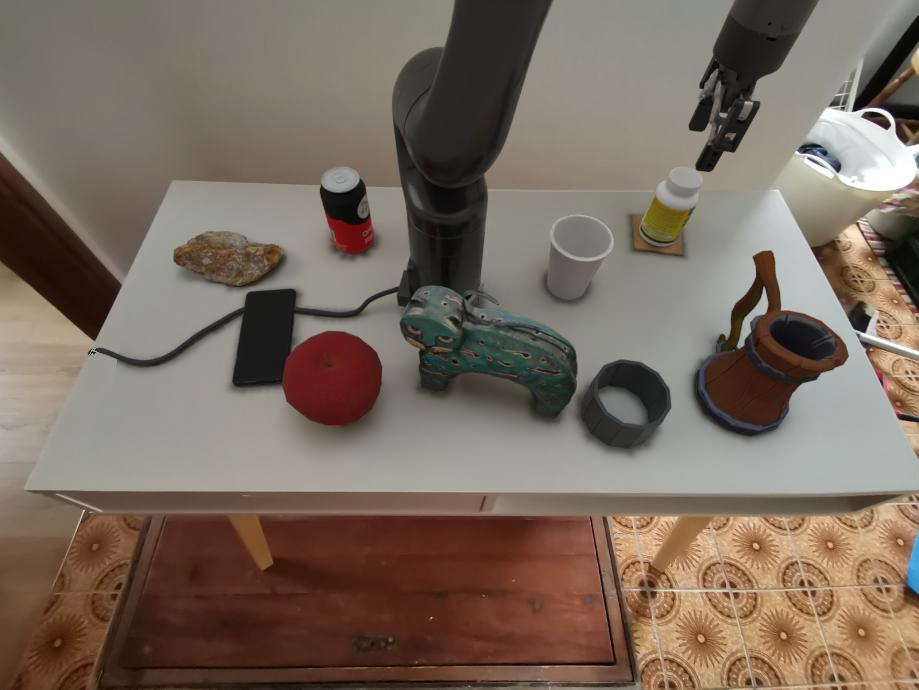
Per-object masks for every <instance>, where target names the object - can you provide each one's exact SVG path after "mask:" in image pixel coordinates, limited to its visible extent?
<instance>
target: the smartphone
mask: <svg viewBox="0 0 919 690" xmlns="http://www.w3.org/2000/svg"><path fill="white" fill-rule="evenodd" d="M296 299H297V291H296V290H295V289H294V288H280V289H279V288H278V289H267V290H266V289H265V290H253V291H248V292H247V293H246V295H245V301H244V306H243V307H244V312H243V313H242V318H241V325H240V331H239V336H238V337H239V338H238V343H237V347H236V355H235V361H234V367H233V373H232V379H231V380H232V381H231V382H232V385H234V386H236V387H244V386H255V385H269V384H278V383H279V384H280V383H283V374H284V368H285V363H286V359H287V357H288V356H289V355H290V354H291V352H292V350H291V349H292V339H293V330H294V319H295V312H294V307H296Z"/></svg>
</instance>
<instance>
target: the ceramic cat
mask: <svg viewBox="0 0 919 690" xmlns="http://www.w3.org/2000/svg"><path fill="white" fill-rule="evenodd" d="M472 294H476V295H479V296H480V297H482V298H484V299H486V300H487V301H489V302H491V303H492V304H495V305H496V306H500V302H499V301H498V300H497V299H496V297H494V296H492V295H491V294H489V293H487V292H485V291H483V290H481V291H480V290H468V291H466V292H465V293H464V295H463V297H462V296H460V295H459V294H458V293H456V292H455V291H453V290H451V289H449V288H445V287H442V286H424V287H421V288H419V289H418V290H417V291H416V292H415V294H414V295H413V297H412V298H411V300H410V301H409V303H408V305H407V306H406V307H404V310H403V312H402V314H401V318H400V319H399V320H400V321H399V328H400V332H401V333H402V336H403V338H404V340H405V341H406V342H407V343H409V344H410V345H411V346H413V347H414V348H417V349H419V351H418V359H419V363H418V372H419V376H420V385H421V388H422V389H426V390H430V391H434V392H438V393H443V392H444V391H446V389H447V387H448V385H449V383H450V380H452V379H454V378H457V377H458V376H460V375H462V374H478V375H487V376H490V377H492V378H493V377H494V378H497V379H502V380H508V381H510V382H512V383H514V384H517V385H519V386H522V387H523V388H526V389H527V390H528V391H529V392H530V394H531V395H532V398H533V400H534V401H533V402H534V403H533V404H534V405H533V408H534V412H535V414H536V415H539V416H541V417H544V418H550V419H553V418H557V416H558V415H559V414H560V413H561V412H562V411H563V410H564V409H565V407H566V406H568V405H569V404H570V403H571V401H572V398H573V396H574V395H575V393H576V392H577V388H578V380H577V377H578V369H579V368H578V360H577V359H578V358H577V351H576V349H575V347H574V345H573V344H572V343H571V342H570V340H568V339H567V338H565V337H564V336H562V335H561V333H559V332H557V331H556V330H555V329H553V328H551V327H549V326H548V325H545V324H543V323H541V322H538V321H536V320H533V319H531V318H528V317H525V316H522V315H519V314H515V313H512V312H508V311H507V312H506V311H502V310H497V309H489V308H488V309H487V308H479V307H478V308H476V307H474V306H472V305H471V304H470V303H469V302H468V301H467V300H466V299H465V296H467V295H472Z"/></svg>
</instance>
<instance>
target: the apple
mask: <svg viewBox="0 0 919 690" xmlns="http://www.w3.org/2000/svg"><path fill="white" fill-rule="evenodd" d="M382 384H383V365H382V362H381V360H380V357H379V354H378V352H377V351H376V349H374V348H373V347H372V346H371V345H370V344H369V343H367V342H366V341H365V340H363V339H362V338H361V337H360V336H357V335H356V334H355V335H354V334H353V333H349V332H347V331H344V330H343V331H341V330H325V331H322V332H320V333H316V334H314V335H312V336H310V337H308V338H307V339H305V340H303V341H302V342H300V343H299V344H298V345H296V347H294V349H293V350H291V351H290V355H289V356H288V357H287V359H286V363H285V368H284V374H283V382H281V385H282V389H283V393H284V398H285V400H286V403H287V404H288V405H290V406H291V407H292V408H293V409H294V410H295V411H297V412H298V413H299V414H300V415H302V416H303V417H305V418H306V419H307V420H309V421H311V422H314V423H317V424H320V425H323V426H327V427H328V426H329V427H345V426H349V425H352V424H355V423H358V422H359V421H360V420H361V419H362V418H363V417H365V416H366V415H368V413H369V412H371V411H372V409H373V407H374V406H375V404H376V402H377V400H378V397H380V396H379V395H380V394H381V390H382V389H381V388H382Z"/></svg>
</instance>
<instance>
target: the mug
mask: <svg viewBox="0 0 919 690" xmlns="http://www.w3.org/2000/svg"><path fill="white" fill-rule="evenodd" d="M752 260H753V263H754V266H755V278H754V279H753V282H752V284H751V286H750V287H749V288H748V290H747V292H746V293H745V294H744V295H743V296H741V298H740V299H738V301H737V302H735V304H734V305H733V307H732V309H731V312H730V331H729V335H728V337H726V335H725V334H724V333H720V334H719V336H718V338H717V342H716V346H715V353H711V354H709V355H708V356H707V357H706V359H705V360H704V362H703V363H702V364H701V366H700V367H699V368H698V370H697V371H696V373H695V394H696V397H697V399H698V401H699V403H700V404H701V407H702V410H703V411H704V413H705V415H707V416H708V417H710V419H712V420H713V421H715V422H716V423H717V424H719V425H721V426H722V427H723V428H725V429H727V430H731V431H733V432H737V433H740V434H741V435H742V434H743V435H744V436H745V435H746V436H749V437H753V436H756V435H760V434H763V433H767V432H770V431H774V430H777V429H778V428H779V427H780V425H781V423H782V422H783V421H784V419H786V417H787V415H788V414H789V412H790V401H791V398H792V396H793V394H794V393H795V392H796V391H797V390H798V388H799V387H800V386H801V385H804V384H805V383H810V382H814V381H817V380H818V379H819V377H820V376H821V374H824V373H827V372H830V371H831V372H832V371H834V370H835V369H836V368H839V367H842V366H844V365H845V364H846V362H847V360H848V359H849V357H850V354H849V352H848V351H849V350H848V348H847V344H846V342H844V340H843V339H842V337H841V336H839V335H838V334H837V333H836V332H835V331H834V330H833V329H832V328H831V327H829V326H828V325H827V324H826V323H825V322H823V320H820V319H818V318H817V317H813V316H811V315H809V314H806V313H804V312H800V311H799V312H798V311H794V310H790V309H789V310H788V309H787V310H786V309H785V310H784V309H783V310H782V299H781V298H782V296H781V290H780V289H781V288H780V285H779V282H778V278H777V272H776V271H777V270H776V258H775V253H774V251H772V249H771V250H770V249H769V250H761V251H759V252H757V253H755V254H754V255H753V256H752ZM764 291H765V294H766V300H767V307H766V308H767V309H766V312H765V313H764V314H760V315H756V316H754V317H753V318H752V319H751V320H750V322H749V326H750V327H749V328H750V332H749V334H747V336H746V337H745V339H744V342H743V346H741V347H739V346H738V344H739V341H740V339H741V333H742V330H743V325H744V321H745V319H746V317H747V316H749V315H750V314H751V313H752V311H753V310H755V308H756V307H757V306H758V305H759V303H760V301H761V299H762V297H763V294H764Z"/></svg>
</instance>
